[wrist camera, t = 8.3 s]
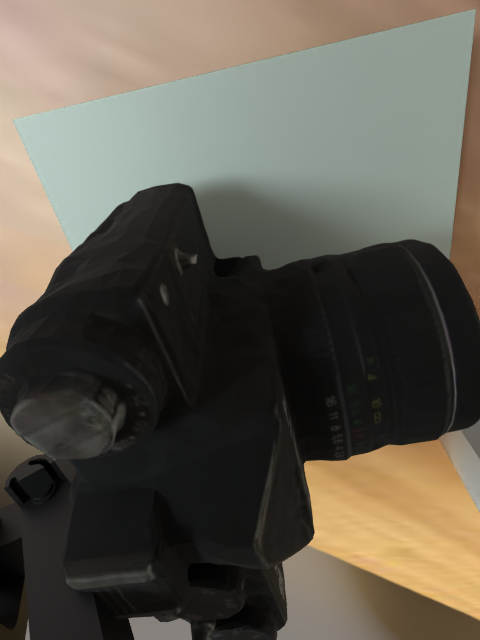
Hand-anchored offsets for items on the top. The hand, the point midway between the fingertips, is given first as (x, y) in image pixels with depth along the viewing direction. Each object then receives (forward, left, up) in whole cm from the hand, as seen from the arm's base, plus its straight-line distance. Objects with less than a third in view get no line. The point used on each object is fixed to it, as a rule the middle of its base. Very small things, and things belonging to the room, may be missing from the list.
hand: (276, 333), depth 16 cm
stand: (0, 0, -5) cm, 5 cm away
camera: (0, 0, -1) cm, 1 cm away
